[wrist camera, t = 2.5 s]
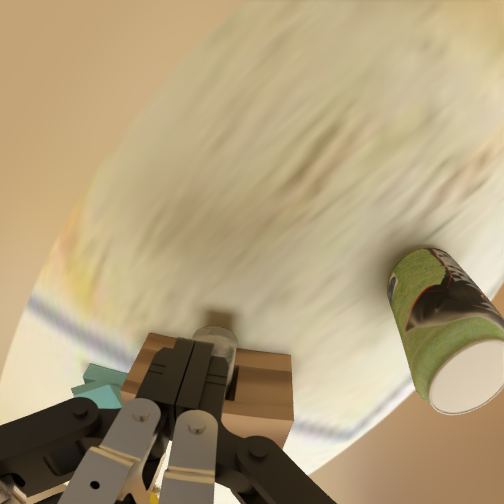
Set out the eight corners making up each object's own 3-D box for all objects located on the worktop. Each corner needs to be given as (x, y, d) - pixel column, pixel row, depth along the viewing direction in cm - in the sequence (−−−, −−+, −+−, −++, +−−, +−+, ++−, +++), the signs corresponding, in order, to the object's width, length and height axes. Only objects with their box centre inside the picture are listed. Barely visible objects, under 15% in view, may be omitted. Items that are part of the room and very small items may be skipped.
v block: (87, 362, 28) (67, 393, 24) (147, 379, 28) (132, 414, 23) (102, 414, 31) (88, 442, 27) (154, 429, 31) (144, 460, 27)
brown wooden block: (149, 332, 25) (119, 390, 19) (290, 355, 25) (293, 420, 19) (156, 408, 30) (138, 459, 23) (269, 426, 29) (267, 482, 23)
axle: (197, 323, 22) (188, 349, 19) (239, 329, 22) (234, 357, 19) (194, 431, 28) (189, 454, 25) (224, 436, 28) (220, 460, 25)
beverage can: (438, 312, 23) (505, 414, 12) (360, 311, 23) (406, 437, 12) (459, 242, 21) (556, 328, 10) (376, 235, 21) (458, 341, 10)
